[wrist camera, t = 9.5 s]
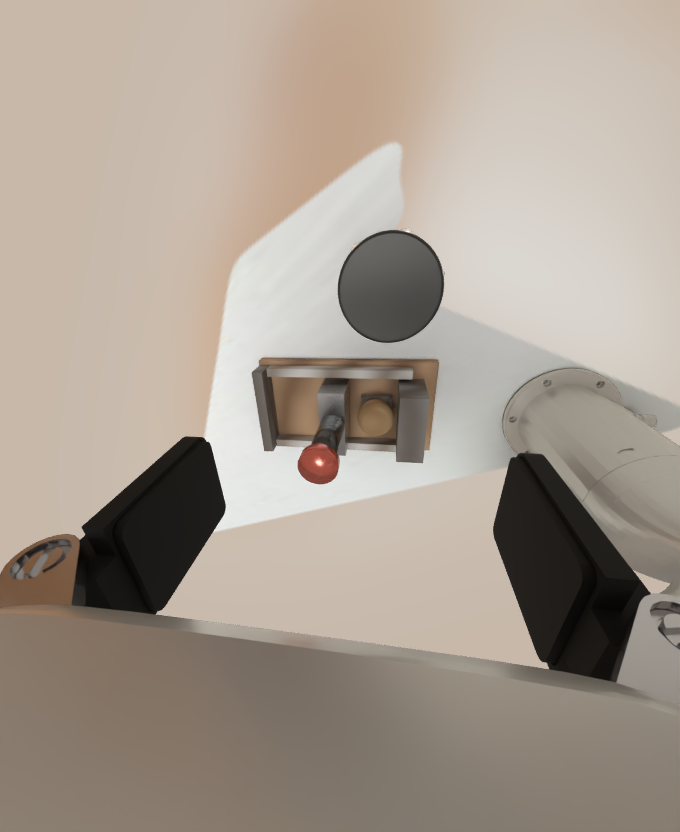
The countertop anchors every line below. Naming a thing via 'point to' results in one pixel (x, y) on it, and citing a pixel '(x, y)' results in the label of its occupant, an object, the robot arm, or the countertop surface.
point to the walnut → (375, 417)
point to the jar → (390, 286)
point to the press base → (368, 379)
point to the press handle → (328, 433)
